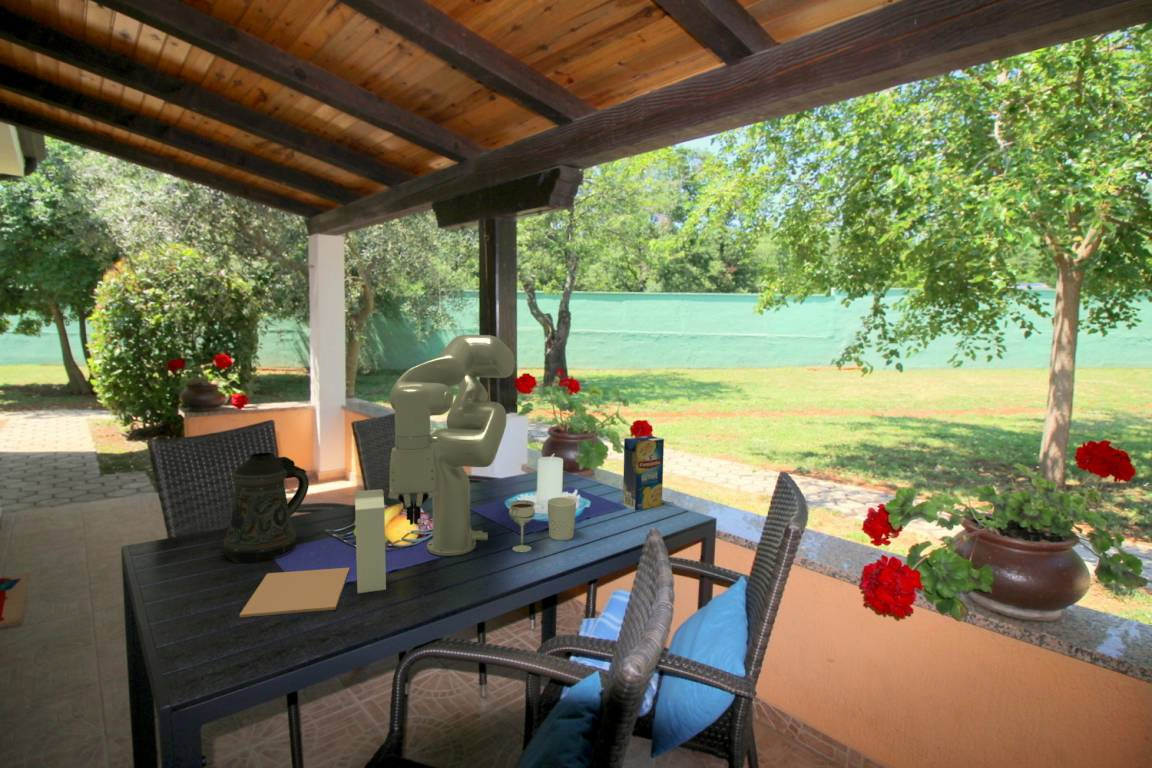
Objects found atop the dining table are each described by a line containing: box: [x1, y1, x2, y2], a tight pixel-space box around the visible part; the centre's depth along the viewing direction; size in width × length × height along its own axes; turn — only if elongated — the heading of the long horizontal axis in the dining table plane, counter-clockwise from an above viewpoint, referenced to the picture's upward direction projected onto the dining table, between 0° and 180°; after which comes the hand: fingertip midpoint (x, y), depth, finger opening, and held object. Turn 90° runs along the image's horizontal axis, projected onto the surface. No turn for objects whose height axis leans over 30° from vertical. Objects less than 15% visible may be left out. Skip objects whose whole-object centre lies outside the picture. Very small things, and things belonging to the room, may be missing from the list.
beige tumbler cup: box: [547, 496, 577, 541], centre depth 167 cm, size 8×8×10 cm
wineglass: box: [508, 499, 536, 553], centre depth 158 cm, size 7×7×12 cm
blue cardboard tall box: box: [622, 435, 665, 511], centre depth 196 cm, size 7×11×22 cm, turn 122°
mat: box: [238, 567, 351, 618], centre depth 132 cm, size 18×20×1 cm
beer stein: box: [223, 452, 310, 563], centre depth 155 cm, size 16×19×25 cm
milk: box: [354, 488, 387, 594], centre depth 134 cm, size 6×6×22 cm
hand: (413, 522), depth 136 cm, fingers closed
